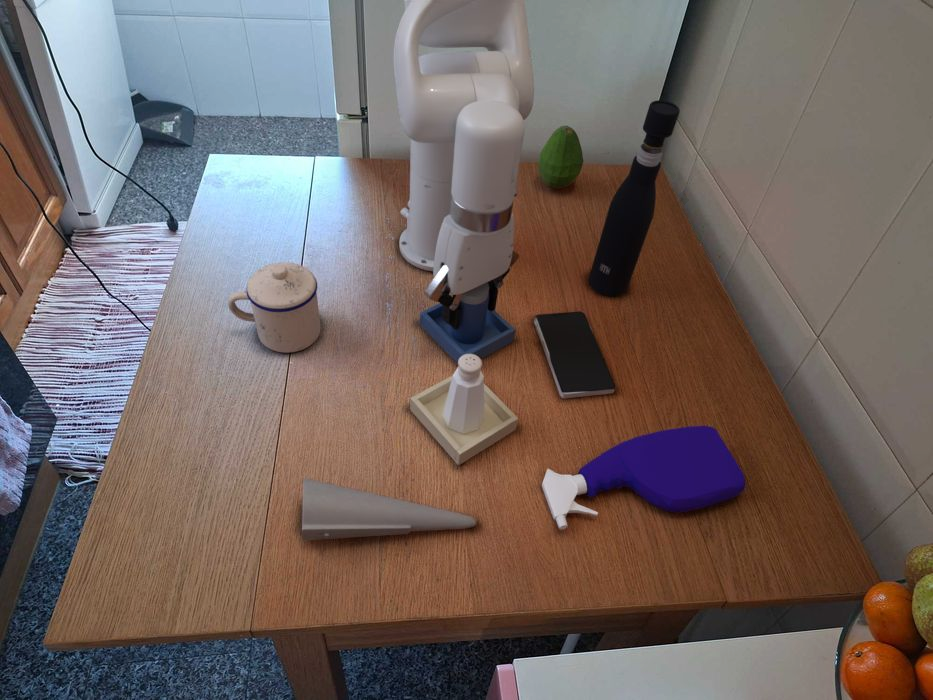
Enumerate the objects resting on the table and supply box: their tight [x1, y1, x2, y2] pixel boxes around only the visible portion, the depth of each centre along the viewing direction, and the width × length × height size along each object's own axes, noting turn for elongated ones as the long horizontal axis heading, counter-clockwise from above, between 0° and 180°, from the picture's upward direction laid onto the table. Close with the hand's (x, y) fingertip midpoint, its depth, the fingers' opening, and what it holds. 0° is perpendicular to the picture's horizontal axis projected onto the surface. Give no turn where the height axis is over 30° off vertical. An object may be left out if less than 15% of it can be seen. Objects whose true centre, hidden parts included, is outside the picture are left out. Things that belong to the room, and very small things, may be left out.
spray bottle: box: [541, 425, 747, 530], centre depth 78 cm, size 3×11×24 cm
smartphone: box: [533, 310, 616, 399], centre depth 93 cm, size 8×1×15 cm
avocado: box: [538, 125, 584, 189], centre depth 118 cm, size 8×8×12 cm
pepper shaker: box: [451, 282, 489, 344], centre depth 90 cm, size 5×5×9 cm
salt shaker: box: [442, 354, 485, 434], centre depth 79 cm, size 5×5×11 cm
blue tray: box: [419, 302, 517, 364], centre depth 93 cm, size 10×9×2 cm
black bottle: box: [587, 99, 681, 297], centre depth 93 cm, size 6×6×30 cm
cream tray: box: [409, 374, 519, 466], centre depth 83 cm, size 10×9×2 cm
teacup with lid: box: [227, 261, 322, 354], centre depth 87 cm, size 12×9×12 cm
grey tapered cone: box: [301, 477, 477, 541], centre depth 73 cm, size 6×6×19 cm
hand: (468, 313), depth 91 cm, fingers open, 5 cm apart
